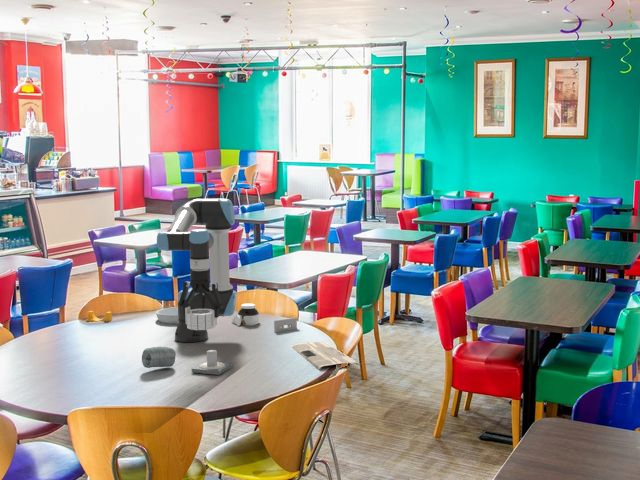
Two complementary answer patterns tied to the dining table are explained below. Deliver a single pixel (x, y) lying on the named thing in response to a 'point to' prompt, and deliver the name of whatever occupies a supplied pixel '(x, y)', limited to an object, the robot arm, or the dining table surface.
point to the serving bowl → (168, 315)
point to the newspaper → (321, 354)
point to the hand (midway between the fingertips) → (201, 324)
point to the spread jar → (246, 315)
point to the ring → (199, 319)
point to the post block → (212, 365)
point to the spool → (158, 357)
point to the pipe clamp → (93, 318)
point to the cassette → (289, 322)
